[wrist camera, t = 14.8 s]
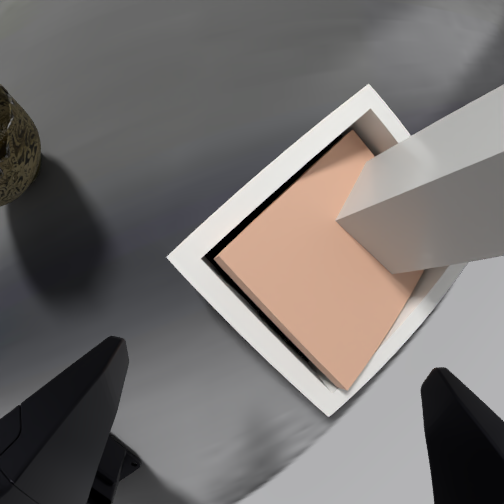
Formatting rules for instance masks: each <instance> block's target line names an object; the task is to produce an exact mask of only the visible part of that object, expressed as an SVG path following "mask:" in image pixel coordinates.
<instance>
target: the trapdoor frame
mask: <svg viewBox="0 0 504 504" xmlns="http://www.w3.org/2000/svg"><path fill="white" fill-rule="evenodd" d="M351 130H354V131H355V133H356V134H357V135H358V136H359V137H360V139H361V140H362V141H363V142H364V144H365V145H366V146H367V147H368V149H369V150H370V151H371V152H372V154H373V155H374V156H377V155H379V154H381V153H382V152H384V151H386V150H388V149H389V148H391V147H393V146H395V145H396V144H398V143H400V142H402V141H403V140H405V139H407V138H409V137H410V136H411V135H410V134H409V133H408V131H407V130H406V129H405V127H404V126H403V125H402V123H401V122H400V121H399V119H398V118H397V117H396V116H395V114H394V113H393V112H392V111H391V109H390V108H389V107H388V106H387V104H386V103H385V102H384V101H383V100H382V98H381V97H380V96H379V95H378V94H377V93H376V91H375V90H374V89H373V88H372V87H371V86H370V85H369V84H368V85H367V86H365V87H364V88H363V89H361V90H360V91H359V92H358V93H356V94H355V95H354V96H352V97H351V98H350V99H349V100H347V101H346V102H345V103H343V104H342V105H341V106H340V107H338V108H337V109H336V110H335V111H333V112H332V113H331V114H330V115H328V116H327V117H326V118H325V119H323V120H322V121H321V122H320V123H318V124H317V125H316V126H315V127H313V128H312V129H311V130H310V131H309V132H307V133H306V134H305V135H304V136H302V137H301V138H300V139H299V140H298V141H296V142H295V143H294V144H293V145H292V146H290V147H289V148H288V149H287V150H286V151H284V152H283V153H282V154H281V155H280V156H279V157H277V158H276V159H275V160H274V161H273V162H271V163H270V164H269V165H268V166H267V167H266V168H264V169H263V170H262V171H261V172H260V173H259V174H257V175H256V176H255V177H254V178H253V179H252V180H251V181H249V182H248V183H247V184H246V185H245V186H244V187H243V188H241V189H240V190H239V191H238V192H237V193H236V194H235V195H234V196H232V197H231V198H230V199H229V200H228V201H227V202H226V203H225V204H223V205H222V206H221V207H220V208H219V209H218V210H217V211H216V212H215V213H213V214H212V215H211V216H210V217H209V218H208V219H207V220H206V221H205V222H204V223H202V224H201V225H200V226H199V227H198V228H197V229H196V230H195V231H194V232H193V233H192V234H190V235H189V236H188V237H187V238H186V239H185V240H184V241H183V242H182V243H181V244H180V245H179V246H178V247H177V248H176V249H174V250H173V251H172V252H171V253H170V254H169V255H168V256H167V259H168V260H169V261H170V262H171V263H172V264H173V265H174V266H175V267H176V268H177V269H178V271H179V272H180V273H181V274H182V275H183V276H184V277H185V278H186V279H187V280H188V281H189V282H190V283H191V284H192V285H193V287H194V288H195V289H196V290H197V291H198V292H199V293H200V294H201V295H202V296H203V297H204V298H205V299H206V300H207V301H208V302H209V303H210V304H211V305H212V306H213V307H214V308H215V309H216V310H217V311H218V312H219V314H220V315H221V316H222V317H223V318H224V319H225V320H226V321H227V322H228V323H229V324H230V325H231V326H232V327H233V328H234V329H235V330H236V331H237V332H238V333H239V334H240V335H241V336H242V337H243V338H244V339H245V340H246V341H247V342H248V343H250V344H251V345H252V346H253V347H254V348H255V349H256V350H257V351H258V352H259V353H260V354H261V355H262V356H263V357H264V358H265V359H266V360H267V361H268V362H269V363H270V364H271V365H272V366H273V367H274V368H275V369H277V370H278V371H279V372H280V373H281V374H282V375H283V376H284V377H285V378H286V379H287V380H288V381H289V382H290V383H291V384H293V385H294V386H295V387H296V388H297V389H298V390H299V391H300V392H301V393H302V394H303V395H305V396H306V397H307V398H308V399H309V400H310V401H311V402H312V403H313V404H315V405H316V406H317V407H318V408H319V409H320V410H321V411H322V412H324V413H325V414H326V415H327V416H328V417H330V416H331V415H332V414H333V413H334V412H335V411H336V410H338V409H339V408H340V407H341V406H342V405H343V404H344V403H345V402H346V401H348V400H349V399H350V398H351V397H352V396H353V395H354V394H355V393H356V392H357V391H358V390H359V389H360V388H361V387H362V386H363V385H364V384H366V383H367V382H368V381H369V380H370V379H371V378H372V377H373V376H374V375H375V374H376V373H377V372H378V371H379V370H380V369H381V368H382V366H383V365H384V364H385V363H386V362H387V361H388V360H389V359H390V358H391V357H392V356H393V355H394V354H395V353H396V352H397V351H398V350H399V348H400V347H401V346H402V345H403V344H404V343H405V342H406V341H407V340H408V339H409V337H410V336H411V335H412V334H413V333H414V332H415V331H416V329H417V328H418V327H419V326H420V325H421V324H422V322H423V321H424V320H425V319H426V318H427V316H428V315H429V314H430V313H431V311H432V310H433V309H434V308H435V307H436V305H437V304H438V303H439V302H440V300H441V299H442V298H443V296H444V295H445V294H446V293H447V291H448V290H449V289H450V287H451V286H452V285H453V283H454V282H455V281H456V279H457V278H458V276H459V275H460V274H461V272H462V271H463V269H464V268H465V267H466V265H467V264H468V262H465V263H459V264H454V265H448V266H442V267H435V268H429V269H424V271H423V273H422V275H421V277H420V279H419V281H418V282H417V284H416V286H415V288H414V290H413V291H412V293H411V295H410V297H409V298H408V300H407V302H406V304H405V305H404V307H403V309H402V310H401V312H400V314H399V315H398V317H397V319H396V320H395V322H394V323H393V325H392V327H391V328H390V330H389V331H388V333H387V335H386V336H385V338H384V339H383V341H382V342H381V344H380V345H379V347H378V348H377V350H376V351H375V353H374V354H373V356H372V357H371V359H370V360H369V362H368V363H367V365H366V366H365V367H364V369H363V370H362V372H361V373H360V375H359V376H358V377H357V379H356V380H355V381H354V383H353V384H352V386H351V387H350V388H349V390H348V391H347V390H344V389H341V388H338V387H336V386H335V385H334V384H333V383H332V382H331V381H330V380H329V379H328V378H327V377H326V376H325V375H324V374H323V373H322V372H321V371H320V370H319V369H318V368H317V367H316V366H315V365H314V364H313V363H312V362H311V361H309V362H308V363H307V362H306V361H305V360H304V359H303V358H302V357H301V356H300V355H299V354H298V353H297V352H296V351H295V350H294V349H293V348H292V347H291V346H290V345H289V344H288V343H287V342H286V341H285V340H284V339H283V338H282V337H281V336H280V335H279V334H278V333H277V332H276V331H275V330H274V328H273V327H272V326H271V325H270V324H269V323H268V322H267V321H266V320H265V319H264V318H263V317H262V316H261V315H260V314H259V313H258V312H257V311H256V310H255V309H254V308H253V307H252V306H251V305H250V304H249V303H248V301H247V300H246V299H245V298H244V297H243V296H242V295H241V294H240V293H239V292H238V291H237V290H236V289H235V288H234V287H233V286H232V285H231V284H230V282H229V281H228V280H227V279H226V278H225V277H224V276H223V275H222V274H221V273H220V272H219V271H218V270H217V269H216V267H215V266H214V265H213V264H212V263H211V262H210V261H209V260H208V259H207V258H206V257H205V256H204V255H205V254H206V253H207V252H208V251H210V250H211V249H212V248H213V247H214V246H215V245H216V244H217V243H218V242H219V241H220V240H221V239H223V238H224V237H225V236H226V235H227V234H228V233H229V232H230V231H231V230H232V229H234V228H235V227H236V226H237V225H238V224H239V223H240V222H241V221H242V220H243V219H245V218H246V217H247V216H248V215H249V214H250V213H251V212H252V211H253V210H254V209H256V208H257V207H258V206H259V205H260V204H261V203H262V202H263V201H264V200H266V199H267V198H268V197H269V196H270V195H271V194H272V193H273V192H275V191H276V190H277V189H278V188H279V187H280V186H281V185H282V184H284V183H285V182H286V181H287V180H288V179H289V178H290V177H291V176H293V175H294V174H295V173H296V172H297V171H298V170H299V169H301V168H302V167H303V166H304V165H305V164H306V163H307V162H309V161H310V160H311V159H312V158H313V157H314V156H315V155H317V154H318V153H319V152H320V151H321V150H322V149H324V148H325V147H326V146H327V145H328V144H329V143H330V142H332V141H333V140H334V139H335V138H336V137H337V136H339V135H340V134H341V135H342V136H344V135H346V134H347V133H349V132H350V131H351Z"/></svg>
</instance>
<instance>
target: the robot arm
mask: <svg viewBox="0 0 504 504" xmlns="http://www.w3.org/2000/svg"><path fill="white" fill-rule="evenodd" d="M128 364H129V357H128V352H127V346H126V341H125V339H123V338H120V337H115V336H110V337H108V338H107V339H105V340H104V341H103V342H101V343H100V344H99V345H97V346H96V347H95V348H93V349H92V350H91V351H89V352H88V353H87V354H85V355H84V356H83V357H81V358H80V359H79V360H77V361H76V362H75V363H73V364H72V365H71V366H69V367H68V368H67V369H65V370H64V371H63V372H61V373H60V374H59V375H57V376H56V377H55V378H54V379H52V380H51V381H50V382H48V383H47V384H46V385H44V386H43V387H42V388H40V389H39V390H38V391H37V392H35V393H34V394H33V395H31V396H30V397H29V398H27V399H26V400H25V401H24V402H22V403H21V406H20V405H18V406H17V407H16V408H14V409H13V410H12V411H10V412H9V413H8V414H6V415H5V416H4V417H2V418H1V419H0V504H112V503H113V499H114V496H115V492H116V489H117V485H118V482H119V481H120V480H122V479H123V478H125V477H126V476H128V475H129V474H131V473H132V472H134V471H135V470H137V469H138V468H139V467H140V465H141V461H140V460H139V459H138V458H137V457H135V456H134V455H133V454H131V453H130V452H129V451H128V450H126V449H125V448H124V447H122V446H121V445H120V444H119V443H117V442H116V441H115V440H114V439H112V438H111V437H110V436H109V433H110V430H111V428H112V425H113V422H114V419H115V416H116V413H117V410H118V406H119V402H120V397H121V393H122V389H123V385H124V381H125V377H126V373H127V369H128ZM421 398H422V408H423V419H424V431H425V438H426V444H427V450H428V456H429V463H430V470H431V477H432V486H433V495H434V504H504V422H503V420H501V418H500V417H498V416H497V415H496V414H495V413H494V412H493V411H492V410H491V409H490V408H489V407H488V406H487V405H486V404H485V403H484V402H483V401H482V400H480V399H479V398H478V397H477V396H476V395H475V394H474V393H473V392H472V391H471V390H469V388H468V387H466V386H465V385H464V384H463V383H462V382H461V381H460V380H459V379H458V378H457V377H455V376H454V375H453V374H452V373H451V372H450V371H449V370H448V369H447V368H444V367H443V368H442V367H441V368H434V369H433V370H432V371H431V373H430V374H429V376H428V377H427V379H426V380H425V381H424V382H423V384H422V387H421ZM133 462H135V463H137V464H135V463H133Z"/></svg>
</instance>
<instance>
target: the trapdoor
mask: <svg viewBox="0 0 504 504" xmlns="http://www.w3.org/2000/svg"><path fill="white" fill-rule="evenodd" d="M374 157H375V156H374V155H373V154H372V152H371V151H370V150H369V149H368V147H367V146H366V145H365V144H364V142H363V141H362V140H361V139H360V137H359V136H358V135H357V134H356V133H355V131H354V130H351V131H350V132H349V133H347V134H346V135H344V136H343V137H342V138H341V139H340V140H339V141H338V142H337V143H336V144H335V145H333V146H332V147H331V148H330V149H329V150H328V151H327V152H326V153H325V154H324V155H323V156H322V157H320V158H319V159H318V160H317V161H316V162H315V163H314V164H313V165H312V166H311V167H310V168H309V169H308V170H306V171H305V172H304V173H303V174H302V175H301V176H300V177H299V178H298V179H297V180H296V181H295V182H294V183H293V184H291V185H290V186H289V187H288V188H287V189H286V190H285V191H284V192H283V193H282V194H281V195H280V196H279V197H278V198H277V199H276V200H274V201H273V202H272V203H271V204H270V205H269V206H268V207H267V208H266V209H265V210H264V211H263V212H262V213H261V214H260V215H259V216H258V217H257V218H255V219H254V220H253V221H252V222H251V223H250V224H249V225H248V226H247V227H246V228H245V229H244V230H243V231H242V232H241V233H240V234H239V235H238V236H237V237H236V238H235V239H234V240H232V241H231V242H230V243H229V244H228V245H227V246H226V247H225V248H224V249H223V250H222V251H221V252H220V253H219V254H218V255H217V256H216V257H215V258H214V260H215V261H216V263H217V264H218V265H219V266H220V267H221V268H222V270H223V271H224V272H225V273H226V274H227V275H228V276H229V277H230V278H231V279H232V280H233V281H234V282H235V283H236V284H237V286H238V287H239V288H240V289H241V290H242V291H243V292H244V293H245V294H246V295H247V296H248V297H249V298H250V299H251V300H252V301H253V302H254V304H255V305H256V306H257V307H258V308H259V309H260V310H261V311H262V312H263V313H264V314H265V315H266V316H267V317H268V318H269V319H270V320H271V321H272V322H273V323H274V324H275V325H276V326H277V328H278V329H279V330H280V331H281V332H282V333H283V334H284V335H285V336H286V337H287V338H288V339H289V340H290V341H291V342H292V343H293V344H294V345H295V346H296V347H297V348H298V349H299V350H300V351H301V352H302V353H303V354H304V355H305V356H306V357H307V358H308V359H309V360H310V361H311V362H312V363H313V364H314V365H315V366H316V367H317V368H318V369H319V370H320V371H321V372H322V373H323V374H324V375H325V376H326V377H327V378H328V379H329V380H330V381H331V382H332V383H333V384H334V385H335V386H336V387H338V388H341V389H344V390H347V391H348V390H349V388H350V387H351V386H352V384H353V383H354V381H355V380H356V379H357V377H358V376H359V375H360V373H361V372H362V370H363V369H364V367H365V366H366V365H367V363H368V362H369V360H370V359H371V357H372V356H373V354H374V353H375V351H376V350H377V348H378V347H379V345H380V344H381V342H382V341H383V339H384V338H385V336H386V335H387V333H388V331H389V330H390V328H391V327H392V325H393V323H394V322H395V320H396V319H397V317H398V315H399V314H400V312H401V310H402V309H403V307H404V305H405V304H406V302H407V300H408V298H409V297H410V295H411V293H412V291H413V290H414V288H415V286H416V284H417V282H418V281H419V279H420V277H421V275H422V273H423V271H424V269H423V270H417V271H410V272H403V273H397V274H391V273H390V272H389V271H388V270H387V269H386V268H385V267H384V266H383V265H382V264H381V263H380V262H379V261H378V260H377V259H376V258H375V257H374V256H372V255H371V254H370V253H369V252H368V251H367V250H366V249H365V248H364V247H363V246H362V245H361V244H360V243H359V242H358V241H357V240H356V239H354V238H353V237H352V236H351V235H350V234H349V233H348V232H347V231H346V230H345V229H344V228H343V227H341V226H340V225H339V224H338V223H337V222H336V221H335V220H336V218H337V216H338V215H339V213H340V211H341V209H342V207H343V205H344V203H345V202H346V200H347V198H348V196H349V194H350V192H351V190H352V188H353V186H354V185H355V183H356V181H357V179H358V177H359V175H360V173H361V171H362V169H363V167H364V165H365V163H366V162H367V161H369V160H370V159H372V158H374Z"/></svg>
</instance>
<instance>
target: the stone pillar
mask: <svg viewBox="0 0 504 504" xmlns="http://www.w3.org/2000/svg"><path fill="white" fill-rule="evenodd" d="M335 221H336V222H337V223H338V224H339V225H340V226H341V227H343V228H344V229H345V230H346V231H347V232H348V233H349V234H350V235H351V236H352V237H353V238H354V239H356V240H357V241H358V242H359V243H360V244H361V245H362V246H363V247H364V248H365V249H366V250H367V251H368V252H369V253H370V254H371V255H372V256H374V257H375V258H376V259H377V260H378V261H379V262H380V263H381V264H382V265H383V266H384V267H385V268H386V269H387V270H388V271H389V272H390V273H391V274H397V273H403V272H410V271H417V270H423V269H429V268H435V267H442V266H448V265H454V264H459V263H465V262H471V261H476V260H482V259H487V258H492V257H498V256H504V85H502V86H500V87H498V88H496V89H495V90H493V91H491V92H489V93H487V94H485V95H484V96H482V97H480V98H478V99H476V100H475V101H473V102H471V103H469V104H467V105H465V106H464V107H462V108H460V109H458V110H456V111H455V112H453V113H451V114H449V115H448V116H446V117H444V118H442V119H440V120H439V121H437V122H435V123H433V124H431V125H430V126H428V127H426V128H424V129H423V130H421V131H419V132H417V133H416V134H414V135H412V136H410V137H409V138H407V139H405V140H403V141H402V142H400V143H398V144H396V145H395V146H393V147H391V148H389V149H388V150H386V151H384V152H382V153H381V154H379V155H377V156H375V157H374V158H372V159H370V160H369V161H367V162H366V163H365V165H364V167H363V169H362V171H361V173H360V175H359V177H358V179H357V181H356V183H355V185H354V186H353V188H352V190H351V192H350V194H349V196H348V198H347V200H346V202H345V203H344V205H343V207H342V209H341V211H340V213H339V215H338V216H337V218H336V220H335Z"/></svg>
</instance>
